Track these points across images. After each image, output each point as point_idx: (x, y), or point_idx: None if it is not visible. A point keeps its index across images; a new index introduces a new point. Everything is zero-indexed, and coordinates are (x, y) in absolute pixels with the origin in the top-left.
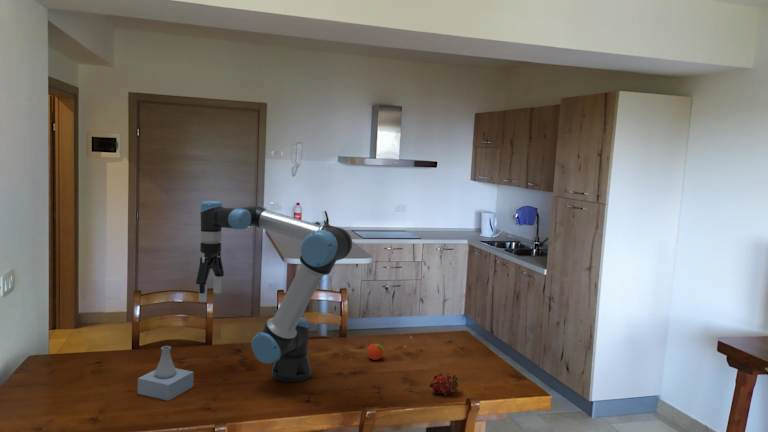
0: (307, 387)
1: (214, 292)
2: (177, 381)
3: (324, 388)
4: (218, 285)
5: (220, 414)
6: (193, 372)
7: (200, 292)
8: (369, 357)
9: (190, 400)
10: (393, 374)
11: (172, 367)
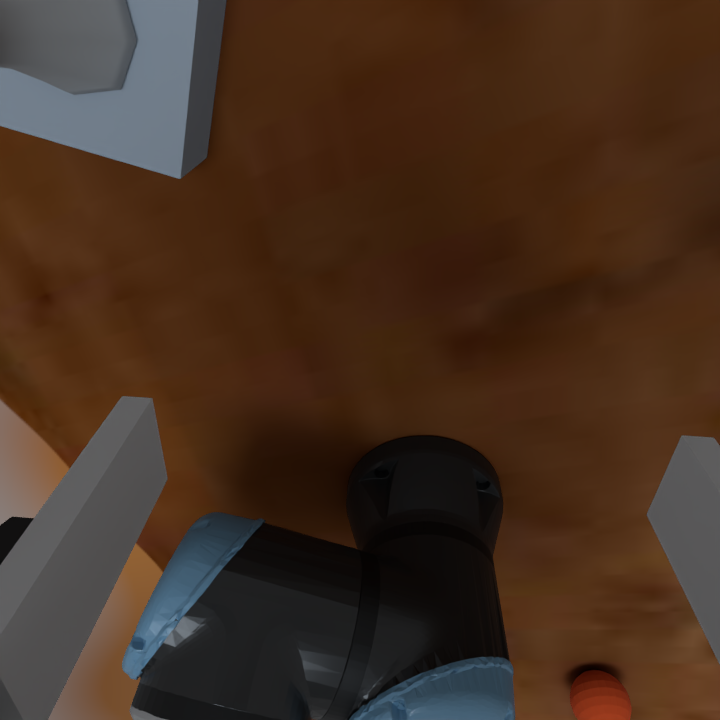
0: None
1: (680, 453)
2: (44, 136)
3: None
4: (712, 602)
5: (23, 348)
6: (181, 177)
7: (2, 539)
8: (586, 673)
9: (70, 202)
10: None
11: (56, 82)
